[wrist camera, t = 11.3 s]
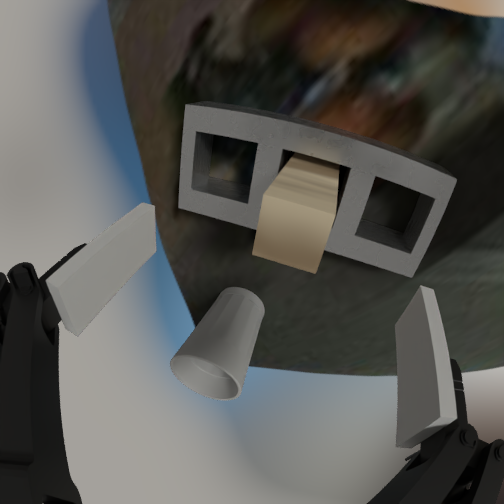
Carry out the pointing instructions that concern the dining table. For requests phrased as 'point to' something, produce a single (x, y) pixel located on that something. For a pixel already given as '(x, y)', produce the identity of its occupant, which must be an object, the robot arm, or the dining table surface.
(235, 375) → the cup
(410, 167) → the grey slotted block
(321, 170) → the peg
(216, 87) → the dining table surface
